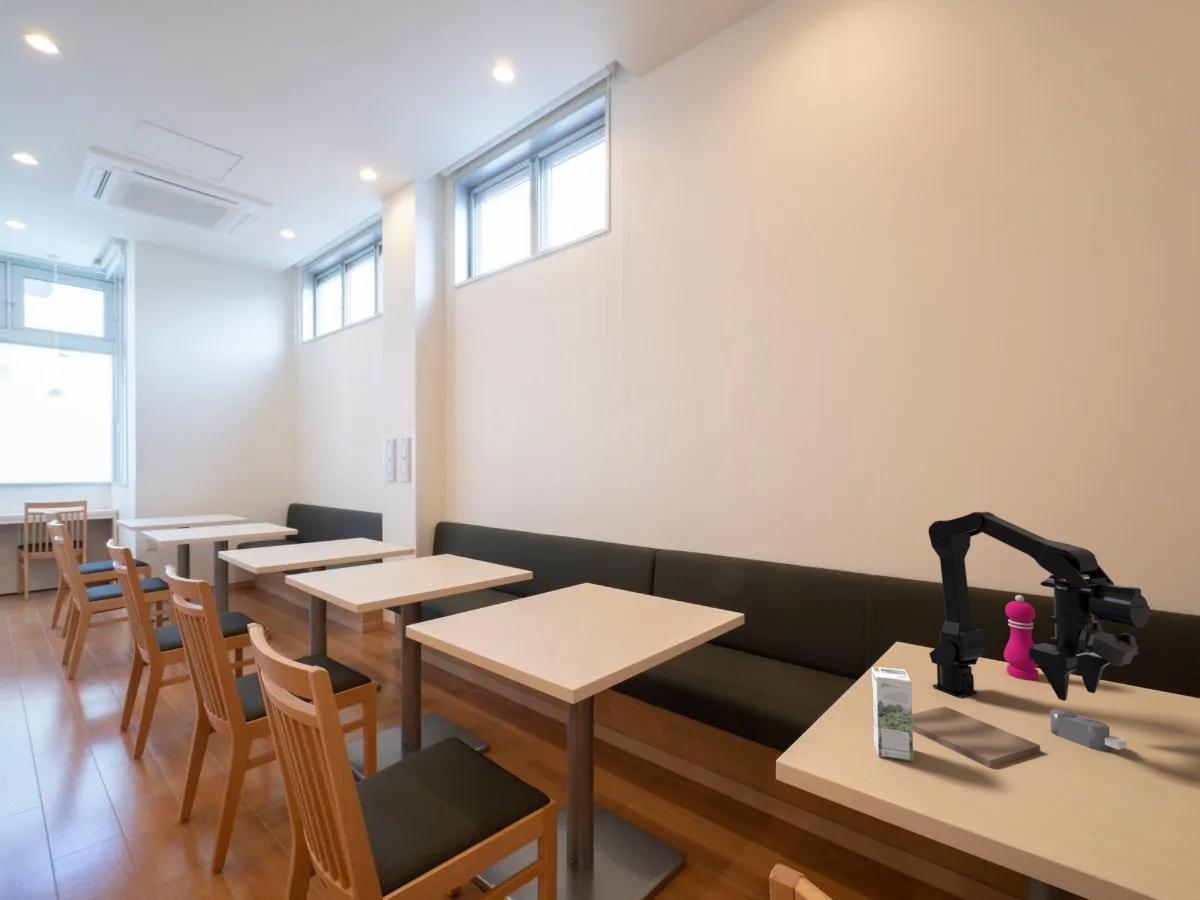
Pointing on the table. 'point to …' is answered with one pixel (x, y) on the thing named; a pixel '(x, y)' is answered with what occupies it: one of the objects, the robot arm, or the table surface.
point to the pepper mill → (1020, 640)
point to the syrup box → (892, 713)
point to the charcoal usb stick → (1084, 731)
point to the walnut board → (972, 736)
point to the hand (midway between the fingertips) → (1077, 696)
